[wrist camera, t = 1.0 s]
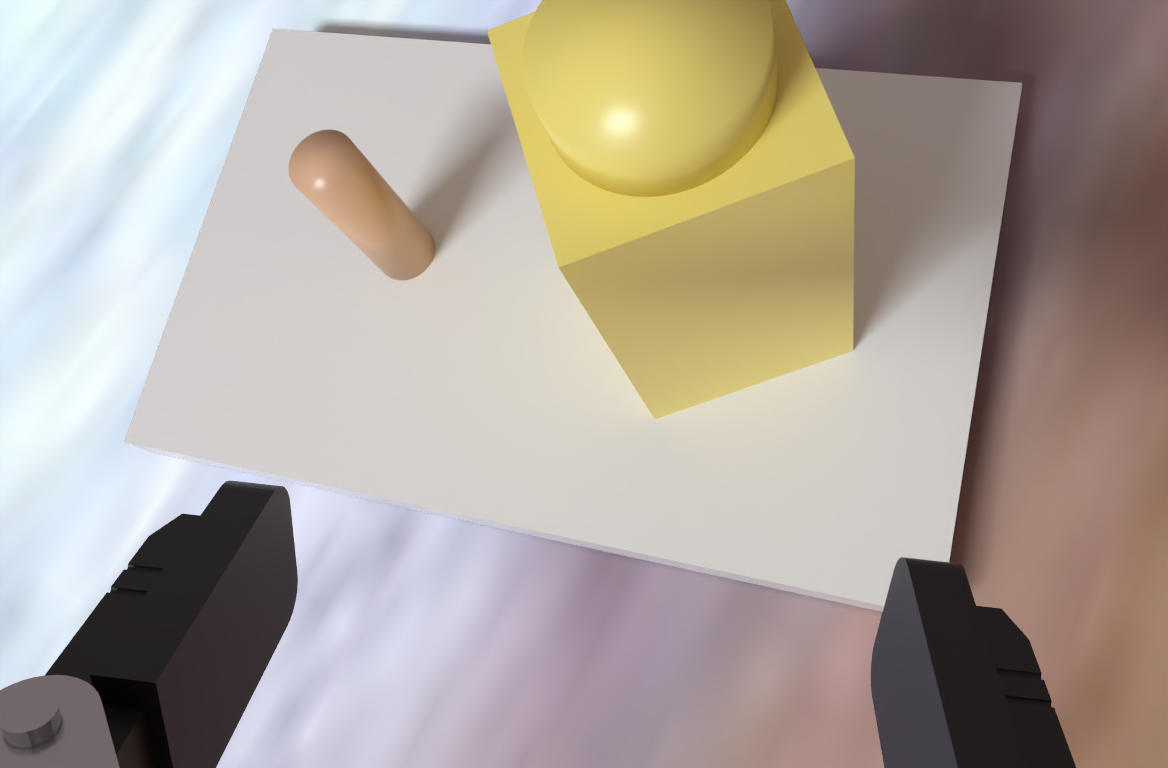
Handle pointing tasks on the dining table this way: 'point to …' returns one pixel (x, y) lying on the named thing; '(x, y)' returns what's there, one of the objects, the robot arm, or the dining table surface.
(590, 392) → the plate
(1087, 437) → the dining table surface
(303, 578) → the dining table surface
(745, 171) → the tall yellow stud brick
